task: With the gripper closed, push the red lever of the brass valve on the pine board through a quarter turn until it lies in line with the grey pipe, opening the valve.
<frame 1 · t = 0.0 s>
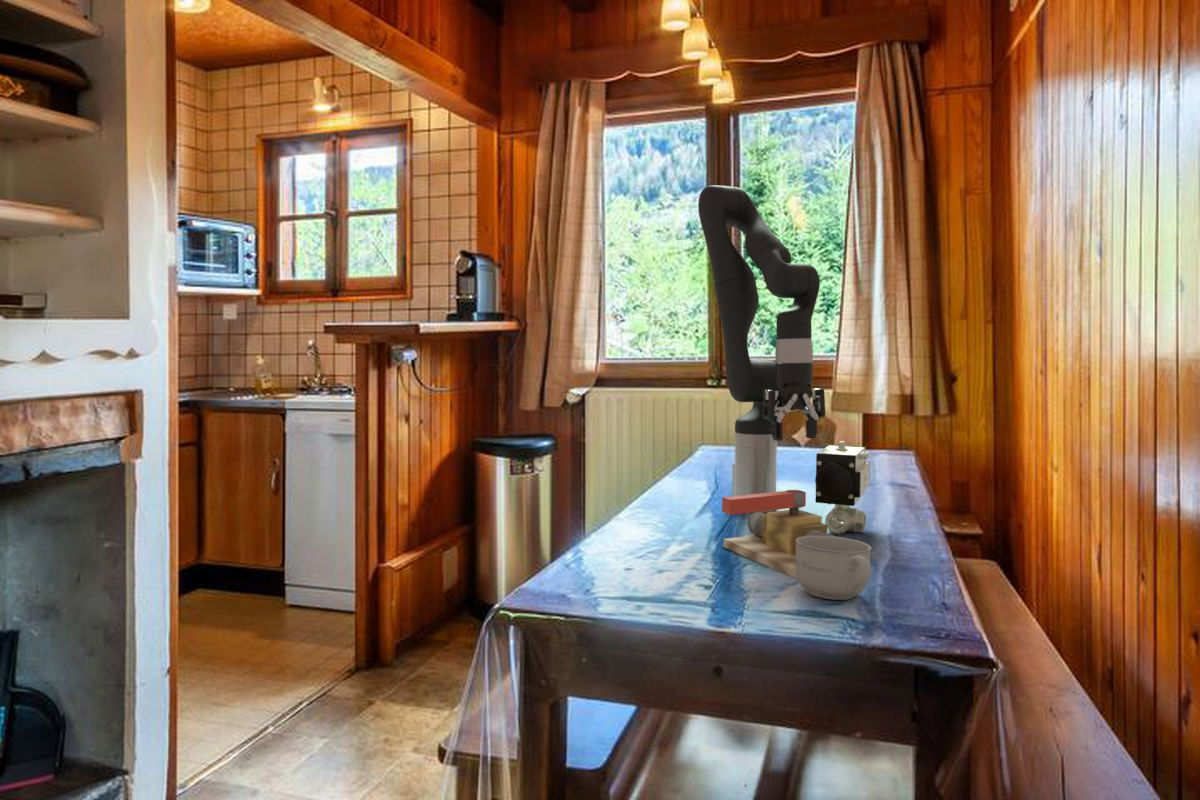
hand: (794, 439, 161), 17 cm above the table, tool pointing down, fingers open, 8 cm apart
lever: (764, 501, 133), point 10 cm above the table, hinge at -90.0°
teacup: (836, 598, 114), on the table
valve fixture: (793, 556, 136), on the table
ball valve: (843, 531, 155), on the table
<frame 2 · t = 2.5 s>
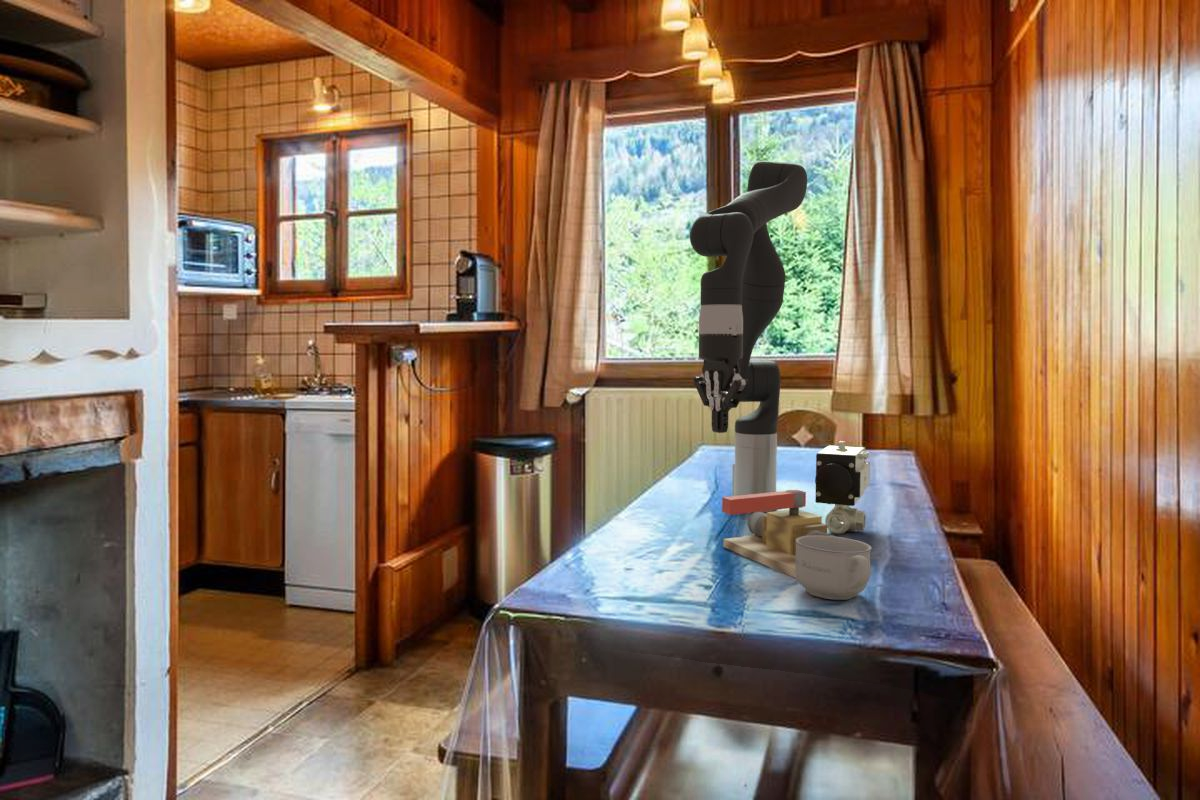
hand: (719, 432, 135), 22 cm above the table, tool pointing down, fingers closed
nothing on the table moved.
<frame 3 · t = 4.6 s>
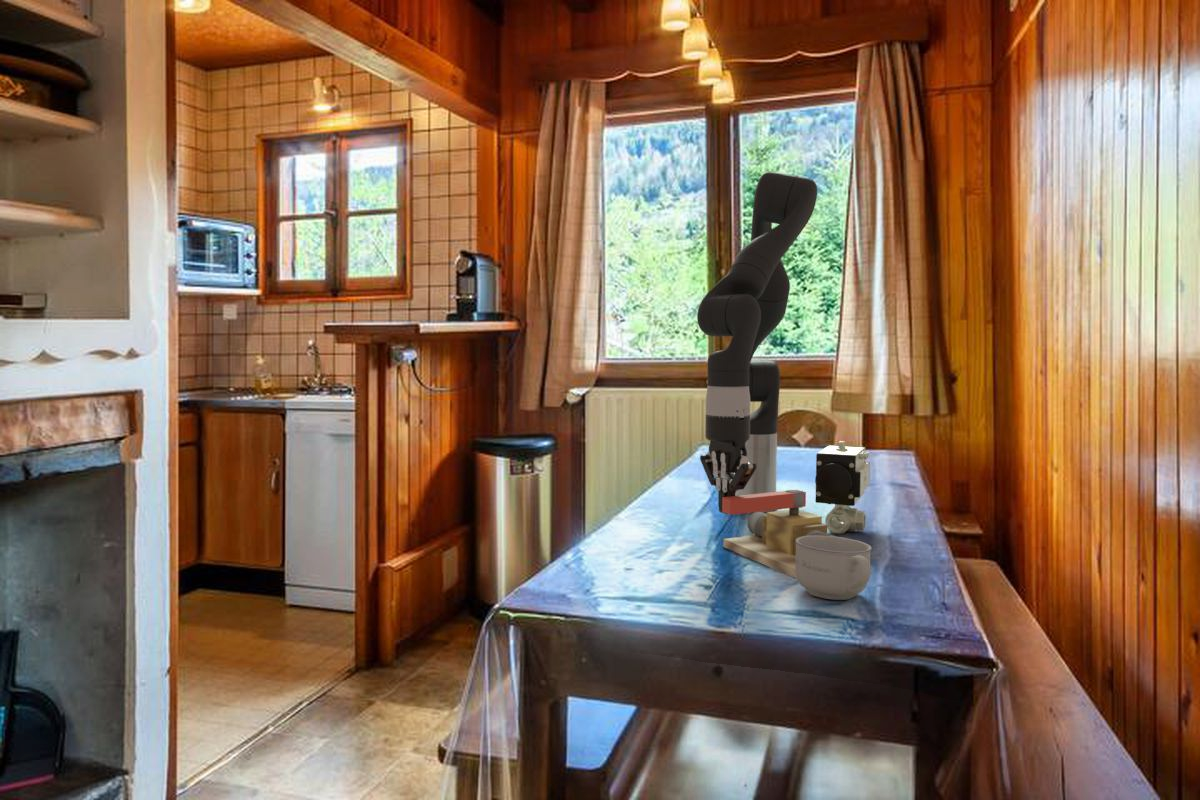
hand: (726, 512, 134), 8 cm above the table, tool pointing down, fingers closed
lever: (764, 501, 133), point 10 cm above the table, hinge at -89.9°, touching gripper
everything else where it was.
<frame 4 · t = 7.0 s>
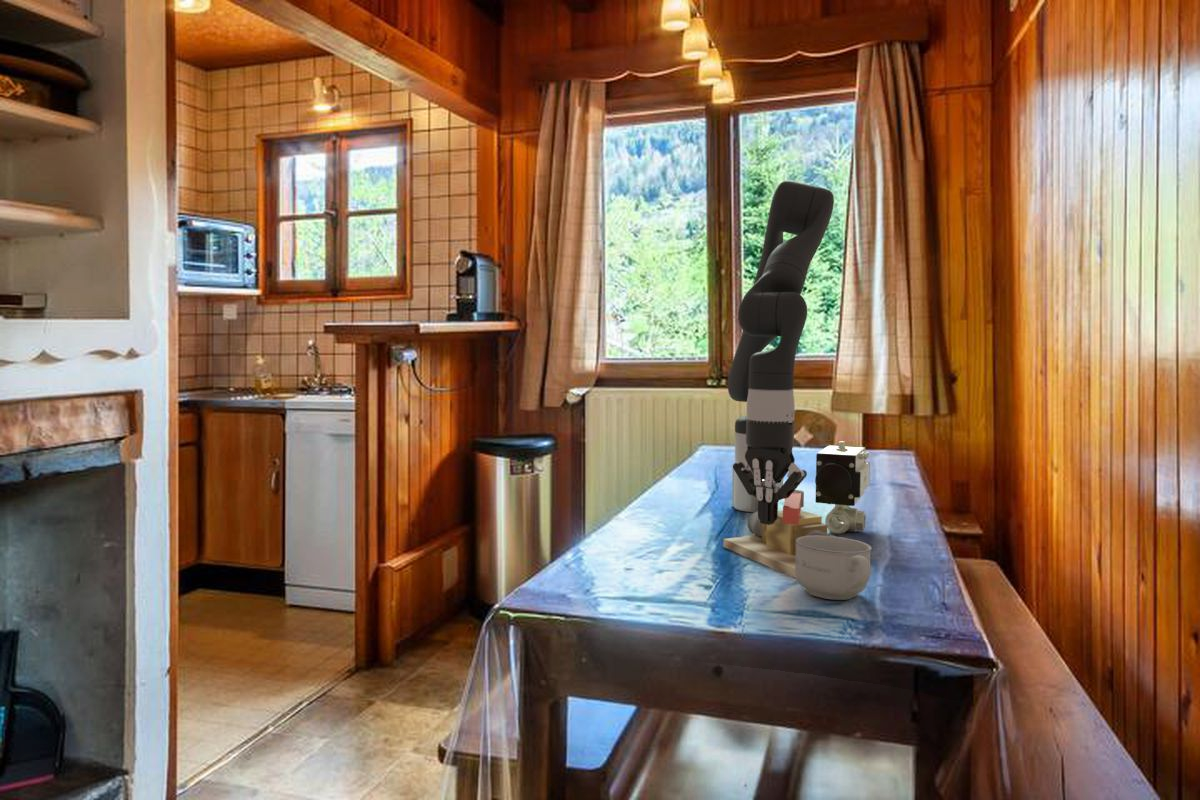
hand: (767, 523, 126), 8 cm above the table, tool pointing down, fingers closed
lever: (792, 506, 129), point 10 cm above the table, hinge at -40.6°, touching gripper
everything else where it was.
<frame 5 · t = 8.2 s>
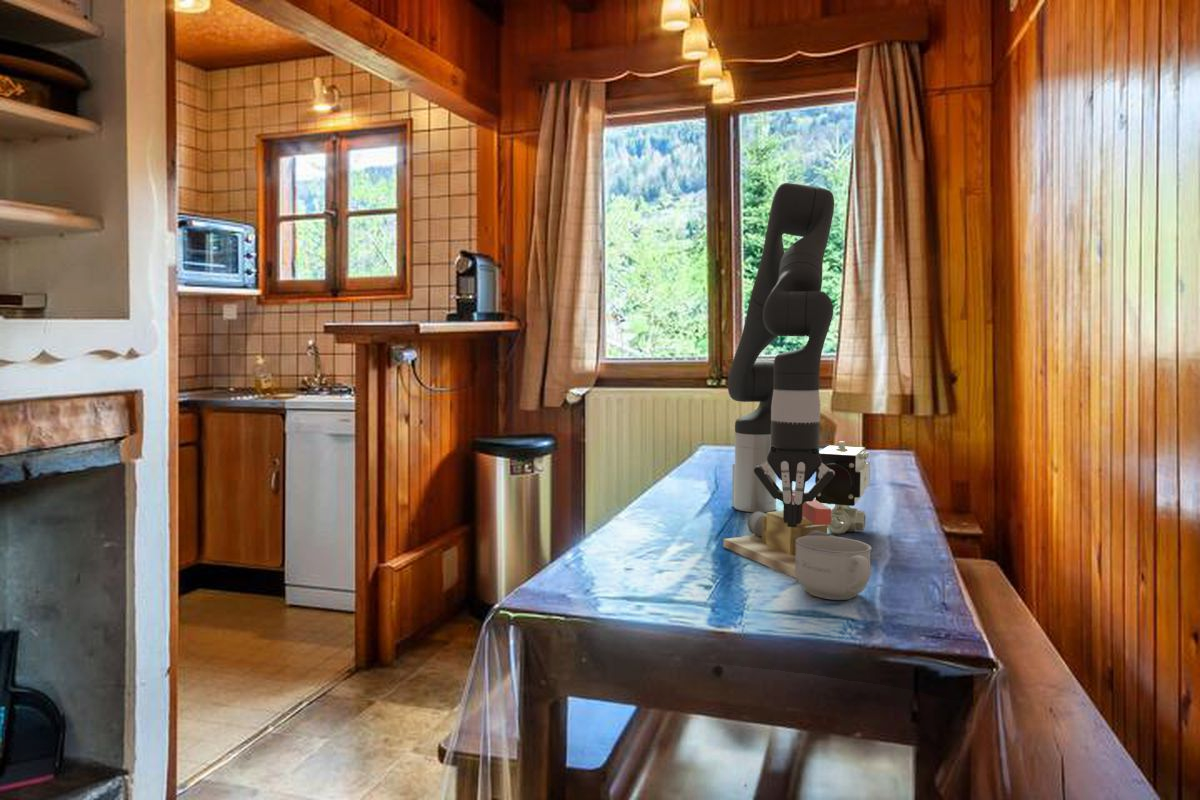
hand: (792, 526, 124), 8 cm above the table, tool pointing down, fingers closed
lever: (806, 506, 129), point 10 cm above the table, hinge at -20.0°, touching gripper
everything else where it was.
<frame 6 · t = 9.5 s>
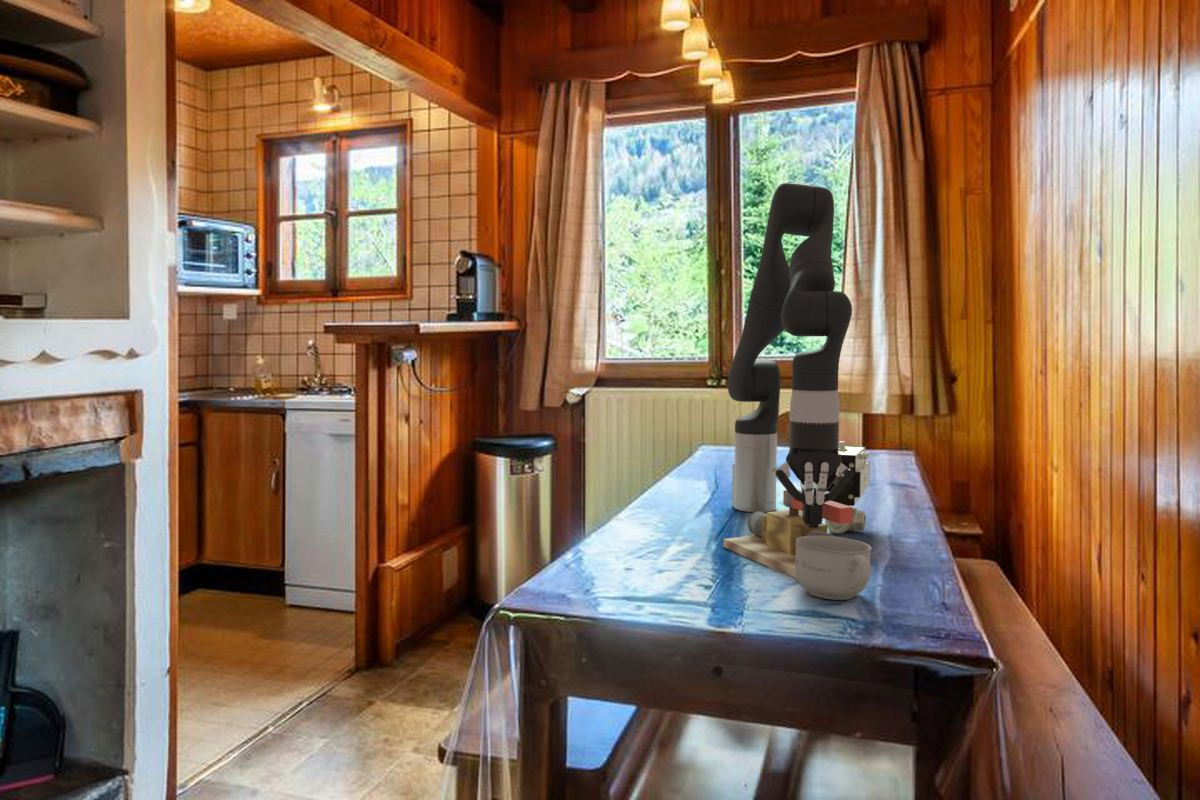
hand: (812, 526, 124), 8 cm above the table, tool pointing down, fingers closed
lever: (815, 505, 129), point 10 cm above the table, hinge at -4.0°
everything else where it was.
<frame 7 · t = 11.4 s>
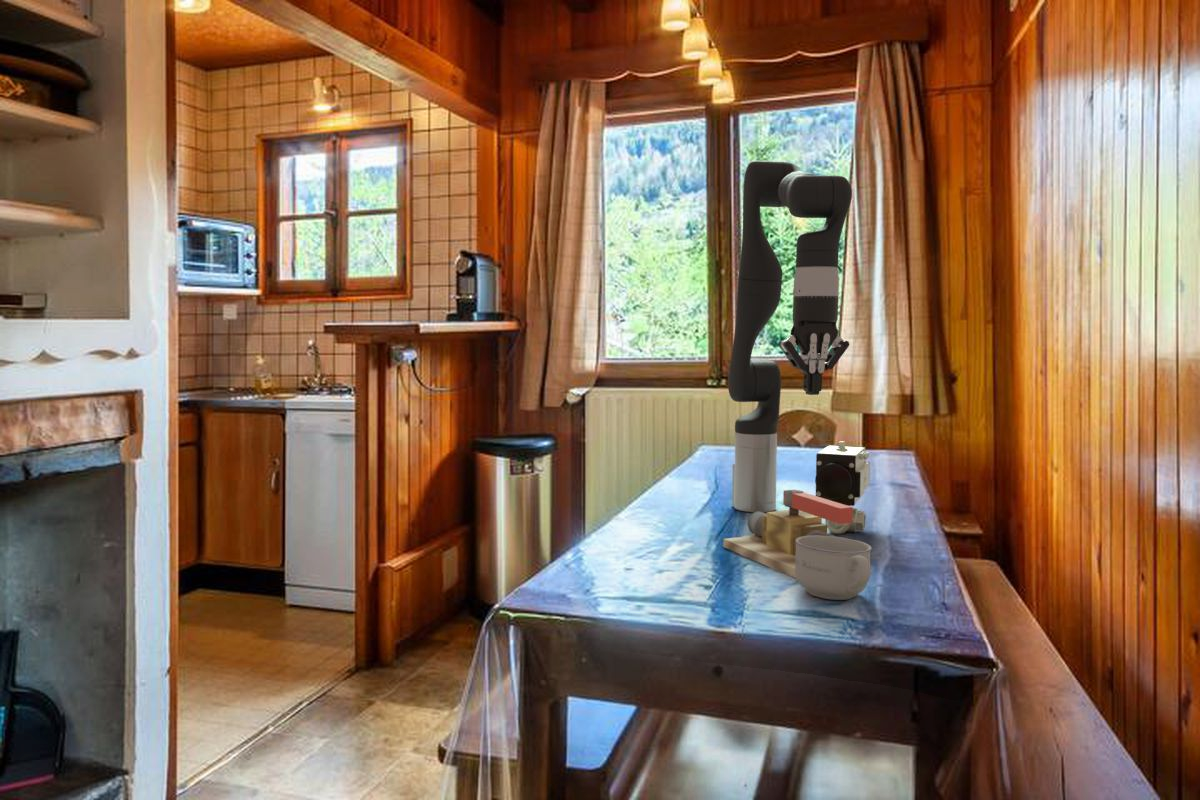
hand: (812, 394, 136), 28 cm above the table, tool pointing down, fingers closed
nothing on the table moved.
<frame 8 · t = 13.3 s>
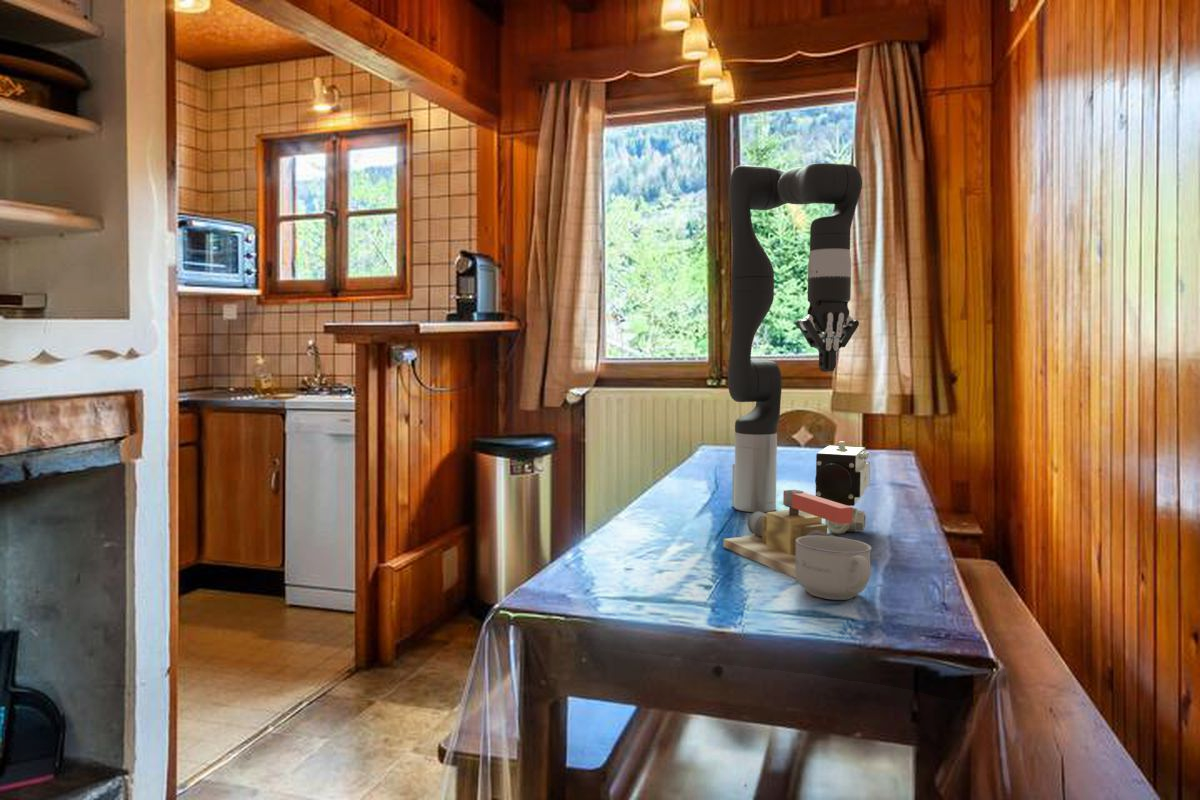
hand: (827, 371, 143), 32 cm above the table, tool pointing down, fingers closed
nothing on the table moved.
at the end: lever at -4° (first picture: -90°); lever touching nothing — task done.
